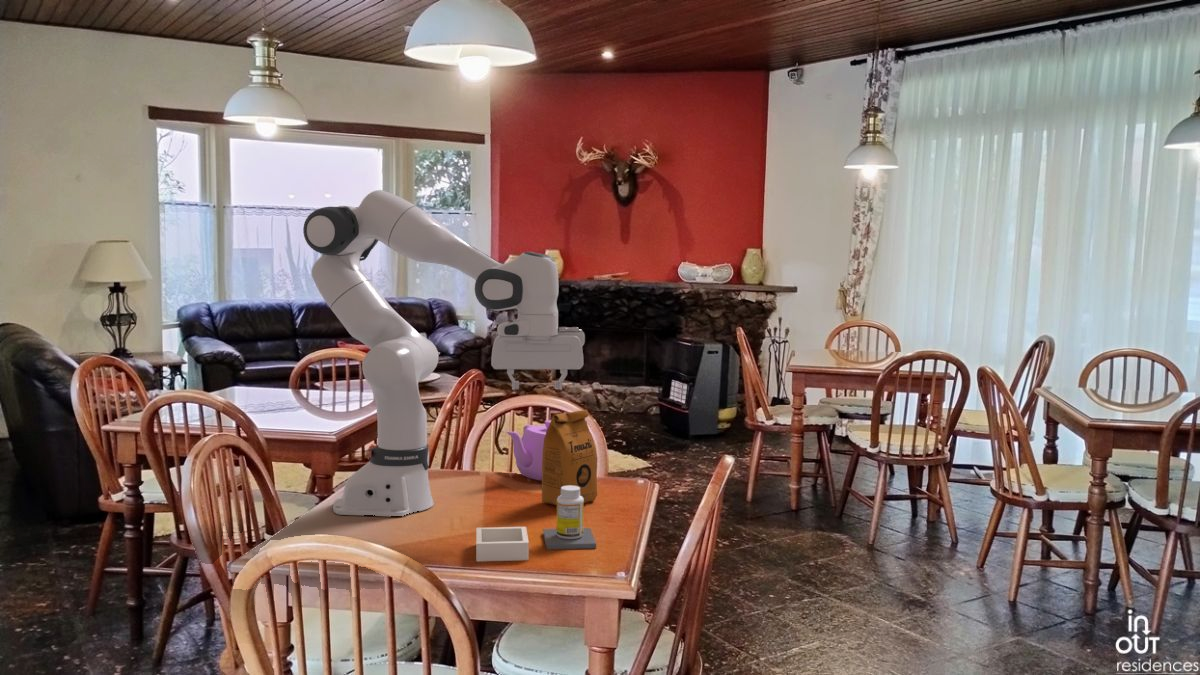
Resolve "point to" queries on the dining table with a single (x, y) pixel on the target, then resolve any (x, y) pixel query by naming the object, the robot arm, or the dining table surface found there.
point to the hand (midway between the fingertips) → (537, 389)
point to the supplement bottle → (570, 513)
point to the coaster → (568, 540)
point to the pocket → (502, 544)
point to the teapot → (530, 450)
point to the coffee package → (569, 457)
